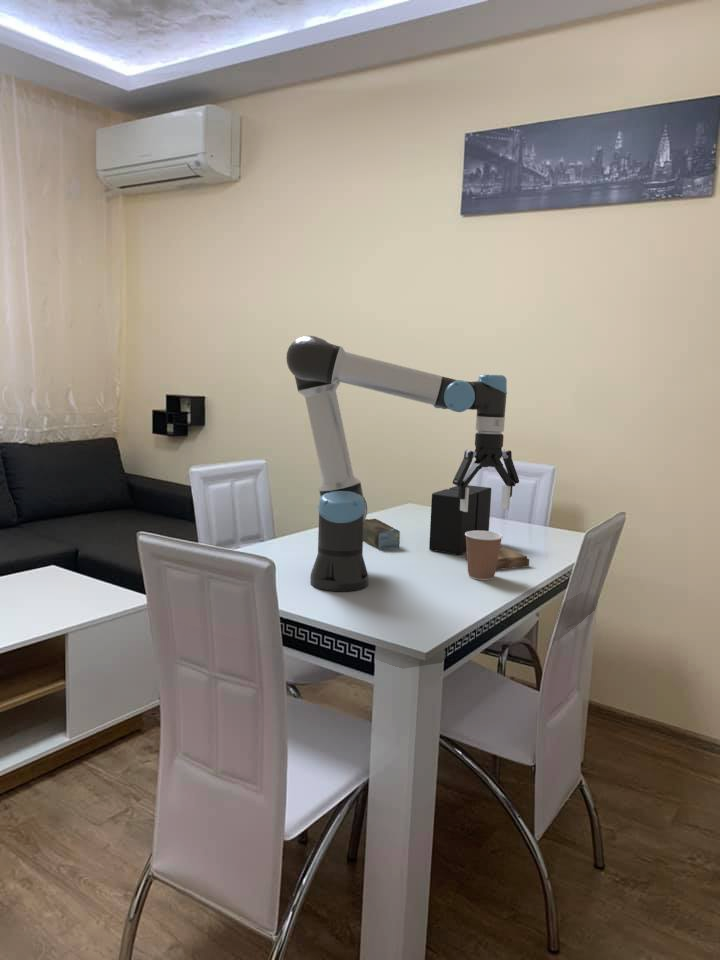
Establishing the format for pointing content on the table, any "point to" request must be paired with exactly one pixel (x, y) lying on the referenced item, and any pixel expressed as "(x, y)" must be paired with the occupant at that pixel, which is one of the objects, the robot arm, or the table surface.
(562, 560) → the table surface
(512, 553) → the stand
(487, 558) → the coffee cup
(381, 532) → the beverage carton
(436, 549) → the speaker
